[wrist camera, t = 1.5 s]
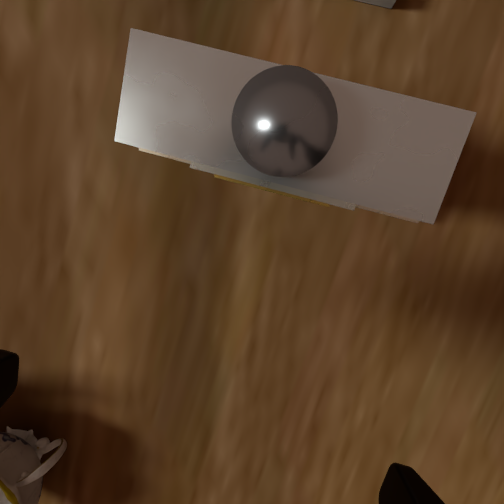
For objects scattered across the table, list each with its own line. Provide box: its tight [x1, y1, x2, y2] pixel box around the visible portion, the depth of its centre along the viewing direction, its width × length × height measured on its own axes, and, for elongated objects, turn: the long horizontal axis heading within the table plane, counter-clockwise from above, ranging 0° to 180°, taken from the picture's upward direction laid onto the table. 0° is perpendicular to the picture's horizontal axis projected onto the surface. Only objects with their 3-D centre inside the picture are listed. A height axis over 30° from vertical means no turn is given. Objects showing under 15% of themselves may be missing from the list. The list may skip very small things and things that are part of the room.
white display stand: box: [114, 28, 476, 224], centre depth 14 cm, size 14×4×9 cm, turn 76°
